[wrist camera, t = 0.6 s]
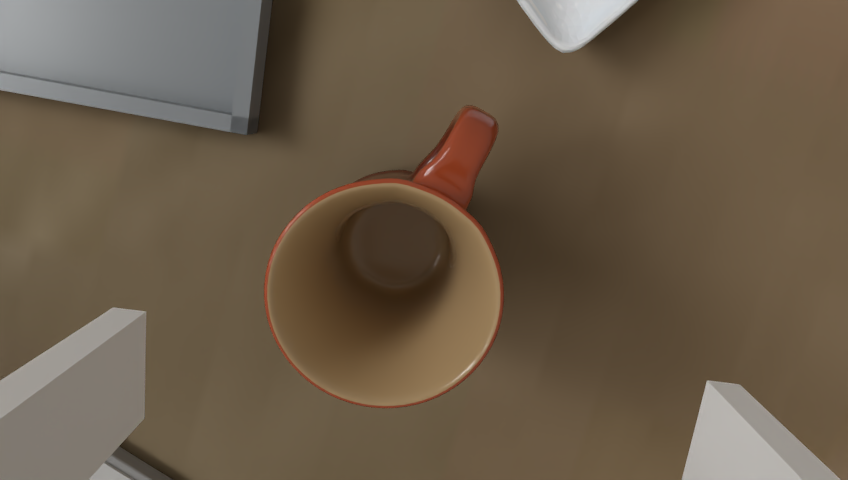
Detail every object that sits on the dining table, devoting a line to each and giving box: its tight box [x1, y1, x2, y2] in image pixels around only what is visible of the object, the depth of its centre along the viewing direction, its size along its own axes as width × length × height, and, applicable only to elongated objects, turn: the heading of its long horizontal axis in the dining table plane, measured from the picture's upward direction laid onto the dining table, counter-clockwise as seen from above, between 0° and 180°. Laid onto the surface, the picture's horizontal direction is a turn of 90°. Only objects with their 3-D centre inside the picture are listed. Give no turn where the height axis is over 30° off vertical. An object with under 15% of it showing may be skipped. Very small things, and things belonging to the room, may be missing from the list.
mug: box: [264, 105, 504, 408], centre depth 26 cm, size 12×9×10 cm
